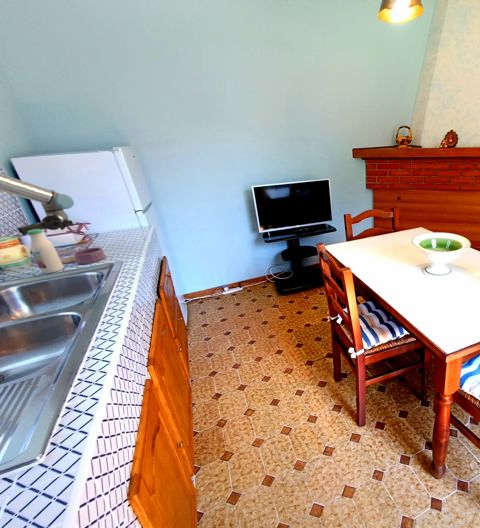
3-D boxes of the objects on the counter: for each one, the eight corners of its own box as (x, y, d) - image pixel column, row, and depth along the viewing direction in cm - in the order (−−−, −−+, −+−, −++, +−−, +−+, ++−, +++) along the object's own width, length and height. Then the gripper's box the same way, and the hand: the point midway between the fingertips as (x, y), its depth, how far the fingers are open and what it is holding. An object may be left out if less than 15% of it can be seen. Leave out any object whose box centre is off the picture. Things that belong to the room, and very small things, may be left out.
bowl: (81, 266, 145) (77, 256, 143) (73, 262, 152) (69, 253, 150) (109, 258, 154) (105, 249, 152) (101, 255, 160) (97, 246, 158)
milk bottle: (63, 266, 147) (45, 226, 139) (64, 270, 141) (45, 229, 134) (42, 271, 142) (22, 230, 134) (41, 275, 136) (20, 233, 129)
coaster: (62, 265, 148) (61, 264, 148) (55, 261, 154) (55, 260, 154) (89, 258, 156) (88, 257, 156) (82, 255, 162) (81, 254, 162)
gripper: (85, 224, 167) (78, 232, 150) (24, 233, 155) (9, 243, 138) (80, 211, 164) (72, 217, 147) (17, 219, 152) (1, 227, 135)
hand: (42, 229), depth 142 cm, fingers open, 13 cm apart
